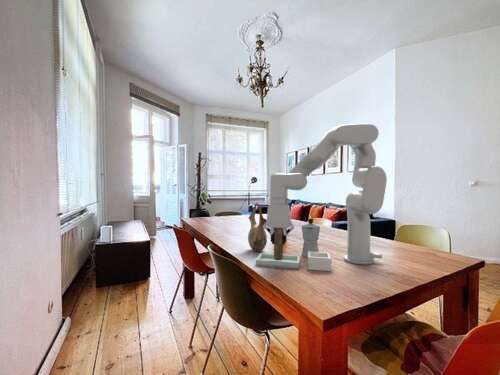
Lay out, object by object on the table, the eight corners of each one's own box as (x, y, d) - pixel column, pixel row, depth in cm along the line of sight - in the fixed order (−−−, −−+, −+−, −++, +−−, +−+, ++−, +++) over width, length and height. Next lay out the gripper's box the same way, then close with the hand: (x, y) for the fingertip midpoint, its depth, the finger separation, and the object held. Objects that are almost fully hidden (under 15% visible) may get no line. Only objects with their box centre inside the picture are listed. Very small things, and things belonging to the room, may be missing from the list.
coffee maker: (319, 260, 112) (319, 220, 112) (299, 258, 115) (299, 219, 115) (320, 252, 127) (321, 216, 126) (303, 250, 129) (303, 216, 129)
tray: (299, 261, 111) (299, 255, 111) (299, 269, 101) (299, 262, 100) (260, 258, 115) (260, 252, 115) (255, 265, 104) (255, 259, 104)
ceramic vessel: (273, 253, 124) (273, 203, 123) (257, 255, 119) (257, 204, 119) (257, 246, 138) (257, 201, 138) (242, 248, 134) (242, 202, 134)
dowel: (283, 257, 109) (283, 226, 109) (282, 260, 105) (282, 227, 105) (274, 257, 110) (274, 225, 110) (273, 259, 106) (273, 227, 106)
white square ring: (329, 264, 107) (329, 252, 107) (331, 271, 98) (331, 258, 98) (307, 262, 109) (307, 251, 109) (307, 269, 100) (308, 257, 100)
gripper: (298, 201, 109) (298, 243, 110) (261, 200, 113) (261, 240, 113) (298, 202, 102) (297, 247, 102) (258, 202, 106) (258, 244, 106)
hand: (278, 243), depth 108 cm, fingers closed on dowel, 4 cm apart
